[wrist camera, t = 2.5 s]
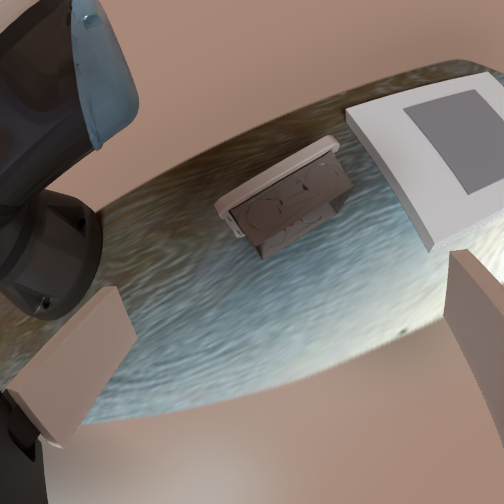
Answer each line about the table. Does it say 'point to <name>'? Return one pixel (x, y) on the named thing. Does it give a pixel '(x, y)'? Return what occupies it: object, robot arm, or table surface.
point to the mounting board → (440, 153)
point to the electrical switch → (287, 198)
